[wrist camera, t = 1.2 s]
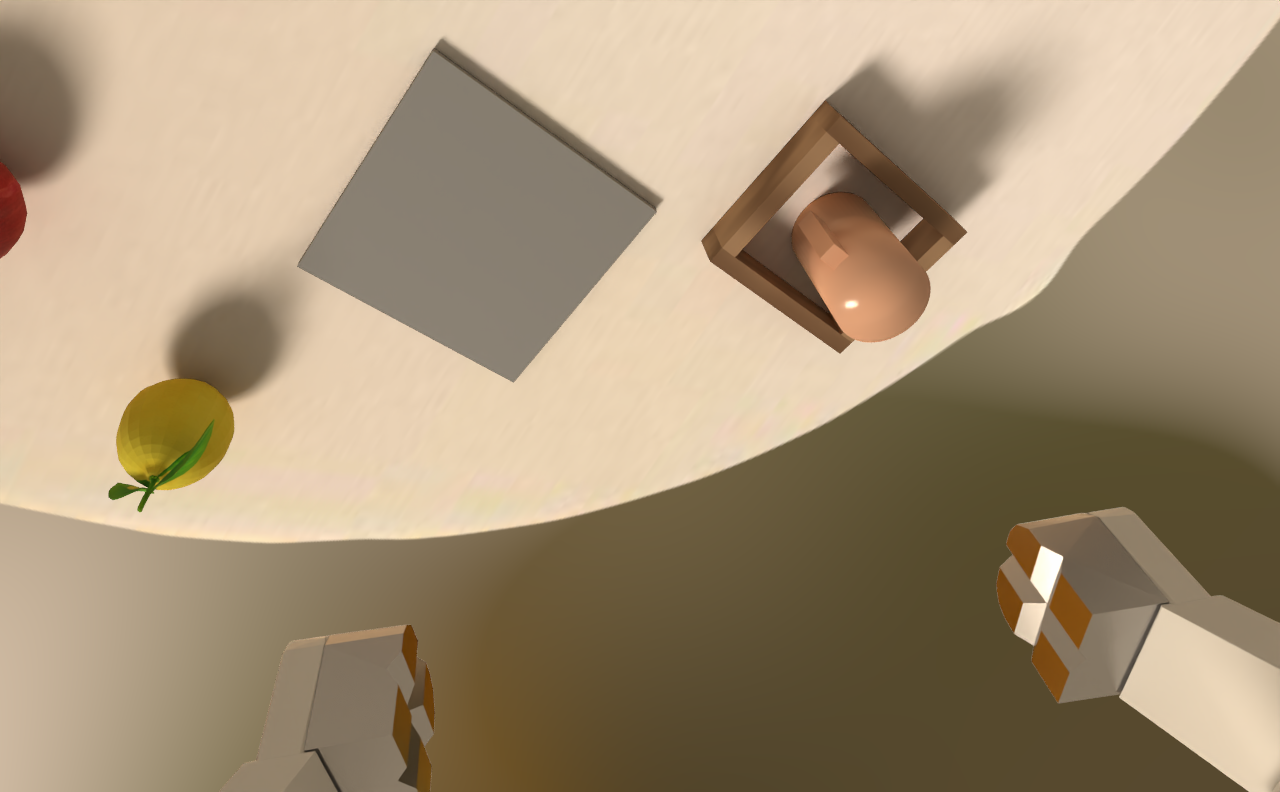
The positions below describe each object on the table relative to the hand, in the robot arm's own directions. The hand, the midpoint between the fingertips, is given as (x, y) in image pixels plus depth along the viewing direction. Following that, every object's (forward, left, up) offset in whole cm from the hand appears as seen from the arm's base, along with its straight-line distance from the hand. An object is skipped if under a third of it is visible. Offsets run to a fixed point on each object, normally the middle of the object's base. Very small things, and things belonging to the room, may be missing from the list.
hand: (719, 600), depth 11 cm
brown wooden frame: (0, +19, -36) cm, 41 cm away
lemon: (+30, -5, -36) cm, 47 cm away
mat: (+12, +3, -36) cm, 38 cm away
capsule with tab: (0, +20, -36) cm, 41 cm away
